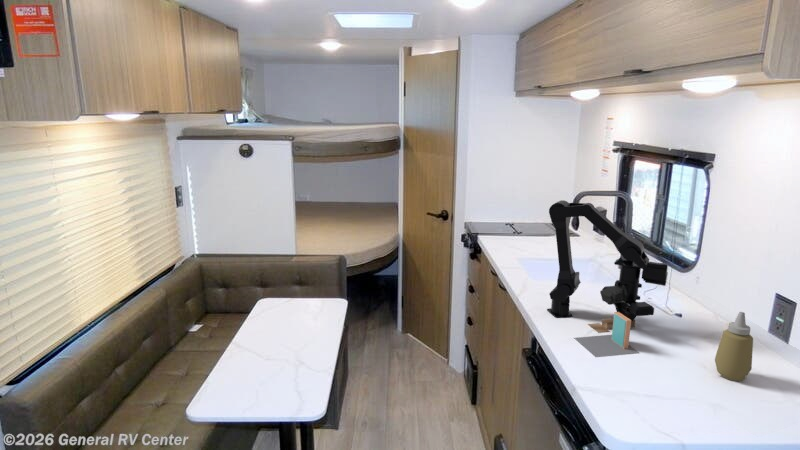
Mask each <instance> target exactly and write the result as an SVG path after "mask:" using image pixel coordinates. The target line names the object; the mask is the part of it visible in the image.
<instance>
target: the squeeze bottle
mask: <svg viewBox="0 0 800 450" xmlns="http://www.w3.org/2000/svg"><path fill="white" fill-rule="evenodd" d="M750 333H751V326H749V325H747V323H746V313H745V312H743V311H739V312H738V313H737V316H736V318H735V320H734V321H733V322H732V321H731V322H729V323H728V325H727V329H725V330H723V331H722V334H721V338H720V340H719V342H718V343H719V344H718V348H717V350H716V354H715V356H714V363H715V366H716V371H717V373H718V374H719V375H720V377H722V378H724V379H727V380H729V381H732V382H733V381H735V382H742V381H744V380H745V379H746V377H747V376H748V375H749V373H750V372H751V371H752V366H753V347H754V346H753V345H754V337H753V335H751V334H750Z"/></svg>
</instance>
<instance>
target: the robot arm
mask: <svg viewBox="0 0 800 450" xmlns="http://www.w3.org/2000/svg"><path fill="white" fill-rule="evenodd" d="M548 215H549V217H550V220H551V221H550V222H551V223H552V225H553V228H554V231H555V238H556V239H555V240H556V247H557V256H558V257H557V258H558V269H559V270H558V275H557V281H556V286H555V287H554V288H553V289H552V290H551V291H550V292H549V297H550V300H551V307H550V308H546V311H547V312H549V314H551V315H552V316H553V317H555V318H563V317H564V318H565V317H572V316H573V314H572V313H571V312H570V303H571V302H570V300H571V299H570V297H571V296H572V295H573V294H574V293H575V292H576V291H577V290H578V288H579V286H580V285H581V283H582V282H581V280H580V271H575V269H574V265H573V257H572V256H573V255H572V247H571V235H570V224H571V220H572V219H571V218H573V217H574V218H576V217H584V218H585V219H586V220H587V221H588V222H590V223H591V224H592V225H593V226H594V227H596V229H598V230H599V232H601V233H602V234H604V236H606V238H608V239H609V240H610V241H611V242H612V244H613V245H614V247H615V248H616V250H617V252H618V253H619V254H620V257H619V258H618V259H616V260H615V261H614V265H615V266H620V270H619V279H617V280H616V281H615V282H614V285H610V286H609V285H608V286H603V288H602V289H601V290H600V292H599V293H600V297H601V300H602V301H603V302H605V303H606V304H607V305H614V307H615V310H616V311H615V312H620V313H621V314H623V315H624V316H626V317H627V318H629V319H630V320H631V323H632V322H633V320H634V319H635V320H636V318H637V317H645V316H654V313H655V307H654V306H653V305H652V304H649V303H648V302H646V301H640V300H641V296H640V295H638V293H639V288H642V287H643V284H642V283H641V282H640V277H641V279H642V281H643V282H644V283H646V284H651V285H652V284H653V285H659V286H664V287H665V286H666V285H667V280H668V274H669V272H668V268H669V267H668V266H669V264H668V263H666V262H657V261H650V258H649V257H648V255H647V254H646V253H645V247H644V244H643V242H642V241H640V240H639V239H637V238H636V237H633V235H630V234H628V233H626V232H624V231H623V230H622V229H620V228H619V227H618V226H616V225H615V223H613V222H612V221H611V220H610V219H609V218H608V217H606V216H605V215H604V214H603V213H602V212H601V211H600V210H599V209H597V208H596V207H595V206H594V204H593V203H591V202H584V203H582V202H568V201H566V200H559V201H556V202H555V203H553V204H552V205H551V206H550V207H549V209H548ZM641 270H642V272H641Z"/></svg>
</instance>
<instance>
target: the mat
mask: <svg viewBox="0 0 800 450" xmlns="http://www.w3.org/2000/svg"><path fill="white" fill-rule="evenodd" d="M611 338H612V334H605V335H603V334H602V335H593V336H592V335H591V336H580V337H579V336H578V337H573V339H575V340H576V342H578V344H579V345H581V346H582V347H583V348H584V349H585V350H587V351H588V352H589V353H590V354H591V355H592V356H594V357H595V358H603V357H614V356H623V355H624V356H625V355H634V354H640V351H639V350H637V349H635V348H634V347H633V346H631V345H630V344H628V349H623V348H622V347H620V346H619V345H618V344H616V343H615V342H614V341H613V340H611Z"/></svg>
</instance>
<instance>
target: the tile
mask: <svg viewBox="0 0 800 450" xmlns="http://www.w3.org/2000/svg"><path fill="white" fill-rule="evenodd" d="M613 318H614V321H613V329H611V331H612V332H611V335H612V338H611V340H613V341H614V342H615V343H616V344H618V345H619V346H620V347H622V348H623V349H628V344H629V343H630V335H631V334H630V333H631V328H632V327H631V320H630V319H629V318H627V317H626V316H624V315H623V314H621V313H620V312H617V311H615V312H614V313H613ZM629 345H630V344H629Z"/></svg>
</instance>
